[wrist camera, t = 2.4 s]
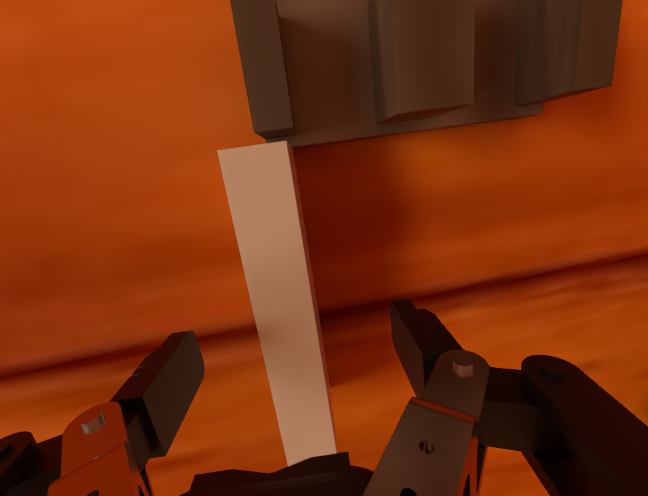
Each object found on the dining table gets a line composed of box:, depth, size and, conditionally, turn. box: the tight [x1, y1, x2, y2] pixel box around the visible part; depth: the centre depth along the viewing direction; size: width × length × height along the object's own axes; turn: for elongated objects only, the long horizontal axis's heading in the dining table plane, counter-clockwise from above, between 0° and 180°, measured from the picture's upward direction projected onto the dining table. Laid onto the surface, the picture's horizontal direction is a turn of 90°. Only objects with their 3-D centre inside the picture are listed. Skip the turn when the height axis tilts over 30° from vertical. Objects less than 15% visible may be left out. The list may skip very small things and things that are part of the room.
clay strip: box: [217, 141, 337, 466], centre depth 16 cm, size 2×16×6 cm, turn 8°
